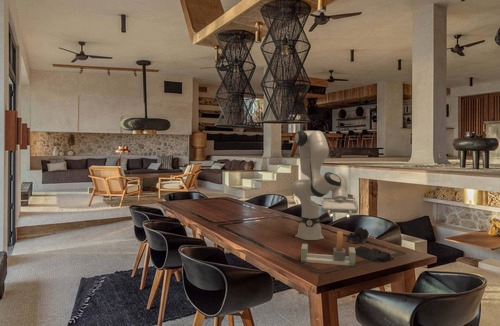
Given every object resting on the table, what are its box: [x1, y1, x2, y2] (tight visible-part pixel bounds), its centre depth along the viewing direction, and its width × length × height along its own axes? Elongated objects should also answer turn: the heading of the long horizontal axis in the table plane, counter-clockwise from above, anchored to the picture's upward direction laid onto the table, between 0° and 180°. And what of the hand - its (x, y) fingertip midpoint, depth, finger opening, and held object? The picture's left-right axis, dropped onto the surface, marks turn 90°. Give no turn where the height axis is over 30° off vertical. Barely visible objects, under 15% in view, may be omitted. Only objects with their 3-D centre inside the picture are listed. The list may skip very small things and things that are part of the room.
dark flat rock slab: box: [355, 245, 395, 264], centre depth 213 cm, size 15×22×5 cm
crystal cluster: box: [346, 227, 370, 245], centre depth 243 cm, size 13×14×10 cm
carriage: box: [332, 230, 346, 258], centre depth 200 cm, size 8×6×13 cm
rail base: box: [300, 243, 357, 267], centre depth 202 cm, size 10×28×7 cm, turn 78°
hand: (339, 218), depth 211 cm, fingers open, 8 cm apart
